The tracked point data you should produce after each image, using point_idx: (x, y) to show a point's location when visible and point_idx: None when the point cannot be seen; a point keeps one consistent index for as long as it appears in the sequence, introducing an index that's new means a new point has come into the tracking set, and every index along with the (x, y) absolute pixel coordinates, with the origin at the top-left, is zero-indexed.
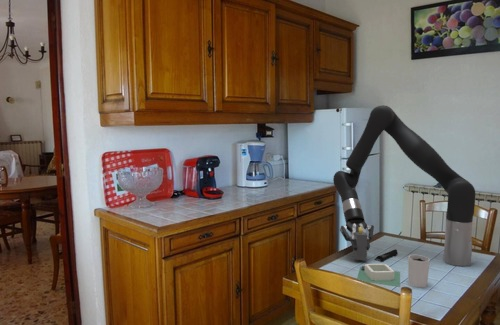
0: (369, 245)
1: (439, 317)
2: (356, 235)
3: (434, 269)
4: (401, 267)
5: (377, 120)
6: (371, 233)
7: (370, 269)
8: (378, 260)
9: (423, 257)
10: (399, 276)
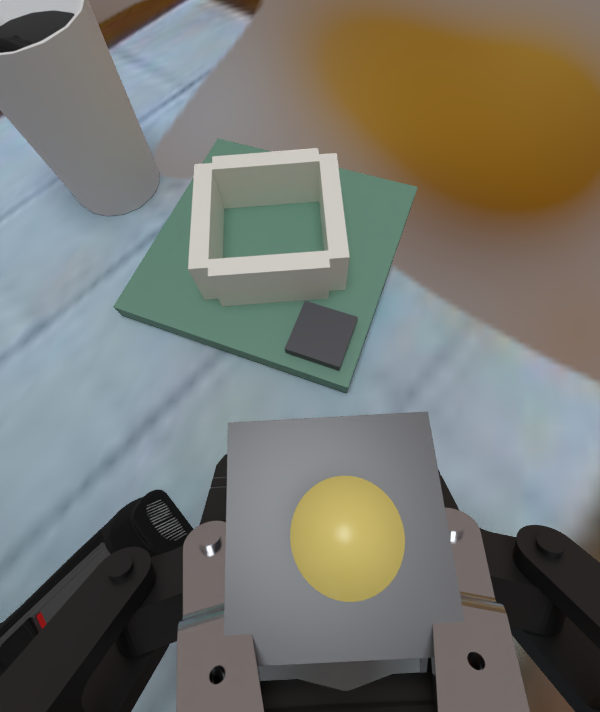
0: (219, 473)
1: (188, 4)
2: (427, 449)
3: None
4: (37, 437)
5: None
6: (67, 641)
7: (333, 183)
8: (159, 517)
9: None
10: (155, 243)
